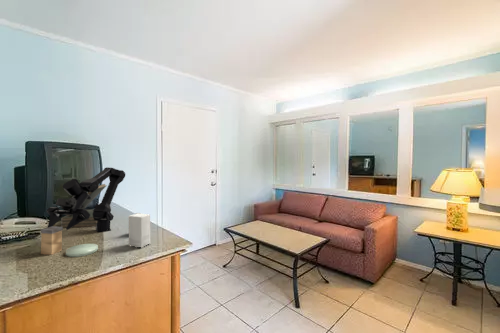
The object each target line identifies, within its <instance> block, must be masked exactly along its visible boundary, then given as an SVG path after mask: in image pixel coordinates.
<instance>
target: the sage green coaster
mask: <svg viewBox="0 0 500 333" xmlns="http://www.w3.org/2000/svg"><path fill="white" fill-rule="evenodd" d="M98 250H99V245H98V244H96V243H83V244H82V243H80V244H78V245H77V244H76V245H73V246H70V247H69V248H66V250H65V256H66V257H70V258H78V257H84V256H89V255H93V254H94V253H96V252H97V251H98Z"/></svg>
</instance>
